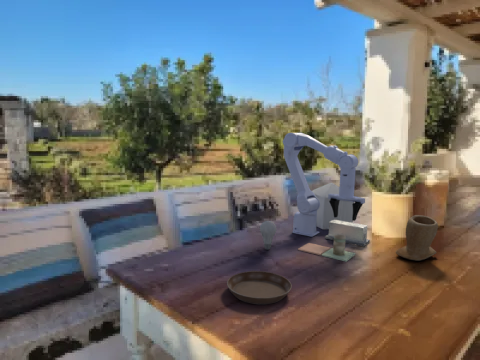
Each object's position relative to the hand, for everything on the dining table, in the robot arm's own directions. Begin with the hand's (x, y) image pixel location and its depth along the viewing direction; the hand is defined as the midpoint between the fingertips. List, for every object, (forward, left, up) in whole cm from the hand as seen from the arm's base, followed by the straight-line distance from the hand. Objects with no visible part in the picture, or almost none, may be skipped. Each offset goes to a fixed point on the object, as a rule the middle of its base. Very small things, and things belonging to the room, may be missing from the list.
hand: (344, 218), depth 144 cm
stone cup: (+28, -1, -10) cm, 29 cm away
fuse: (+5, -17, -9) cm, 20 cm away
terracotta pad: (-5, -17, -9) cm, 20 cm away
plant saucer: (-1, -60, -10) cm, 60 cm away
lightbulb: (-18, -29, -10) cm, 35 cm away
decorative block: (-15, +21, -10) cm, 28 cm away
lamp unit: (+1, +2, -9) cm, 10 cm away
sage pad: (+5, -17, -9) cm, 20 cm away
